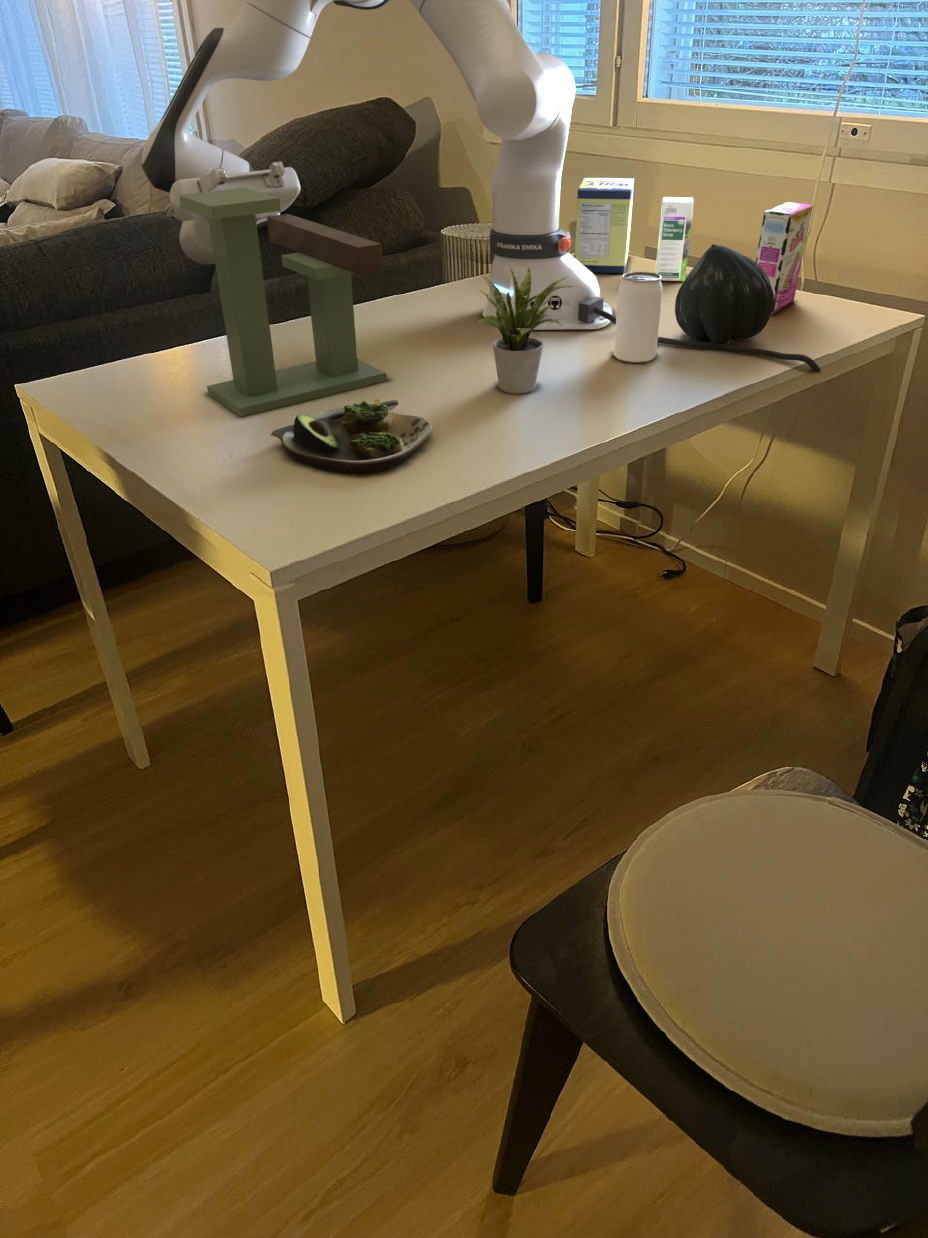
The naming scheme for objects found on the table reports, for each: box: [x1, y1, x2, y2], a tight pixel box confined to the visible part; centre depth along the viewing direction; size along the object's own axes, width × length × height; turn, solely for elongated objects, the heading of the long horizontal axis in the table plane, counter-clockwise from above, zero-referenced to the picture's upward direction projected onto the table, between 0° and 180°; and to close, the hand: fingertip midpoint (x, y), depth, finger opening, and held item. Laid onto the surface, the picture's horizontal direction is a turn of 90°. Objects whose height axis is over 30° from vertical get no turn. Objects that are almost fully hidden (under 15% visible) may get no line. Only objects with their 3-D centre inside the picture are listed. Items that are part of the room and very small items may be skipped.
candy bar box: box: [755, 201, 814, 316], centre depth 160 cm, size 11×5×16 cm, turn 144°
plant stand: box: [179, 188, 388, 418], centre depth 125 cm, size 11×23×26 cm, turn 126°
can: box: [613, 271, 664, 364], centre depth 139 cm, size 6×6×12 cm
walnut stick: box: [267, 213, 384, 277], centre depth 126 cm, size 26×3×3 cm, turn 36°
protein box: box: [574, 176, 635, 275], centre depth 187 cm, size 10×16×16 cm
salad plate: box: [270, 399, 433, 474], centre depth 115 cm, size 19×18×5 cm
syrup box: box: [654, 196, 695, 282], centre depth 178 cm, size 6×6×14 cm
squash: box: [674, 243, 774, 344], centre depth 146 cm, size 14×15×15 cm
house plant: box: [474, 268, 571, 394], centre depth 126 cm, size 14×14×16 cm
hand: (250, 169), depth 136 cm, fingers open, 8 cm apart
